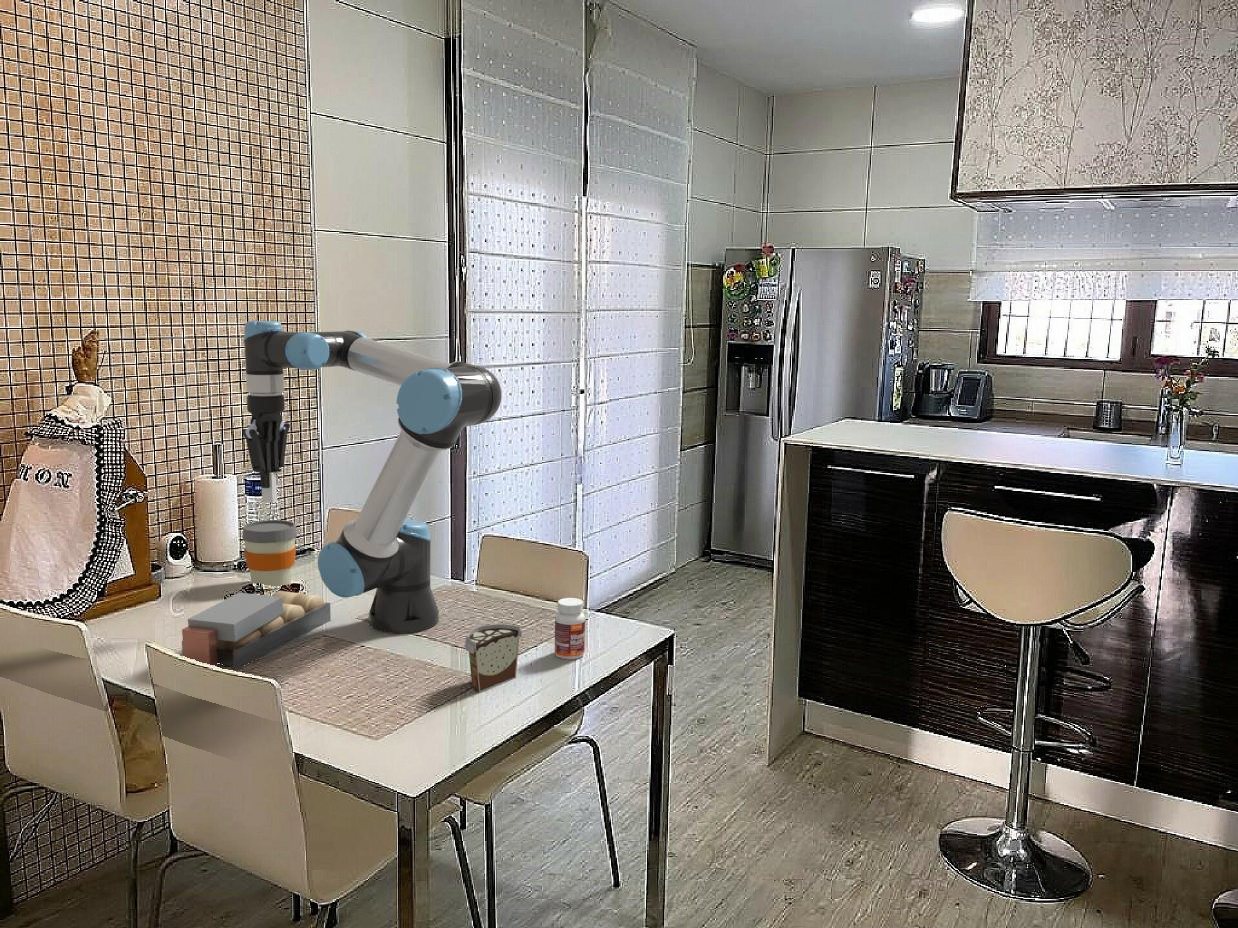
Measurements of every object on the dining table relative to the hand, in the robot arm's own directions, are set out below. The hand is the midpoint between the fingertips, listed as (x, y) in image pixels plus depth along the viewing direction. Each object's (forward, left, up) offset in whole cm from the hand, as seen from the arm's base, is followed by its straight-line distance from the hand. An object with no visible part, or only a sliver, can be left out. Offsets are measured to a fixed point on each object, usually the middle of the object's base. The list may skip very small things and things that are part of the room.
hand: (269, 501), depth 203 cm
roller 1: (-7, +19, -25) cm, 32 cm away
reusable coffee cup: (+16, -20, -27) cm, 37 cm away
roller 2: (-6, +14, -26) cm, 30 cm away
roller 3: (-6, 0, -26) cm, 27 cm away
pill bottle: (-69, -3, -27) cm, 74 cm away
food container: (-59, +15, -27) cm, 66 cm away
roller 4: (-6, +7, -26) cm, 28 cm away
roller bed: (-6, +14, -26) cm, 30 cm away
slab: (-7, +20, -21) cm, 29 cm away
